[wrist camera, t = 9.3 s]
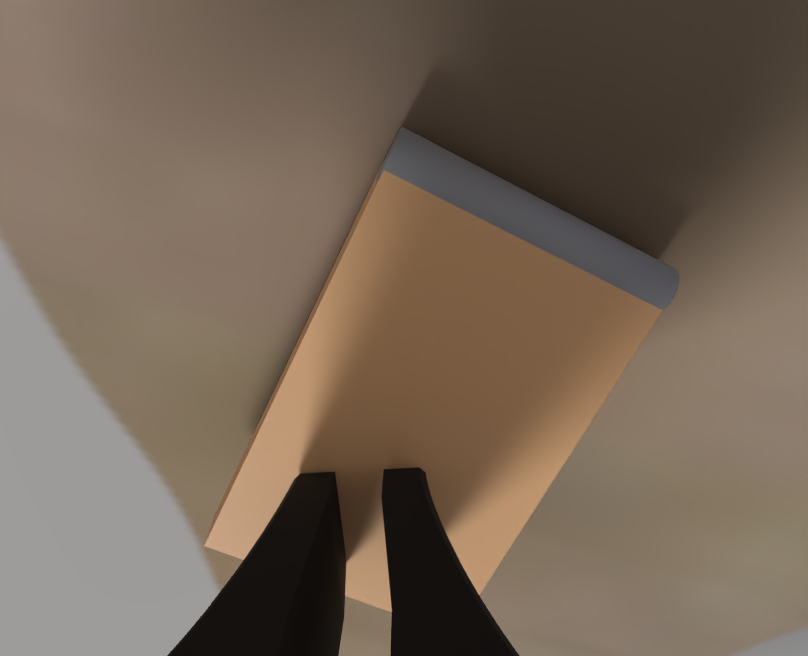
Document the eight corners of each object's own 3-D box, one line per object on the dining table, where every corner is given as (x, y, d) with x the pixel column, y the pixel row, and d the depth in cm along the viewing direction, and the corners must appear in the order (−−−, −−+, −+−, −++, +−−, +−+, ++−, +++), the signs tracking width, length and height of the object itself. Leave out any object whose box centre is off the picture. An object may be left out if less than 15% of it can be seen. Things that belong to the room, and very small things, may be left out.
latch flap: (214, 515, 12) (203, 548, 12) (400, 125, 10) (404, 128, 9) (448, 600, 13) (454, 636, 13) (661, 261, 11) (687, 275, 10)
